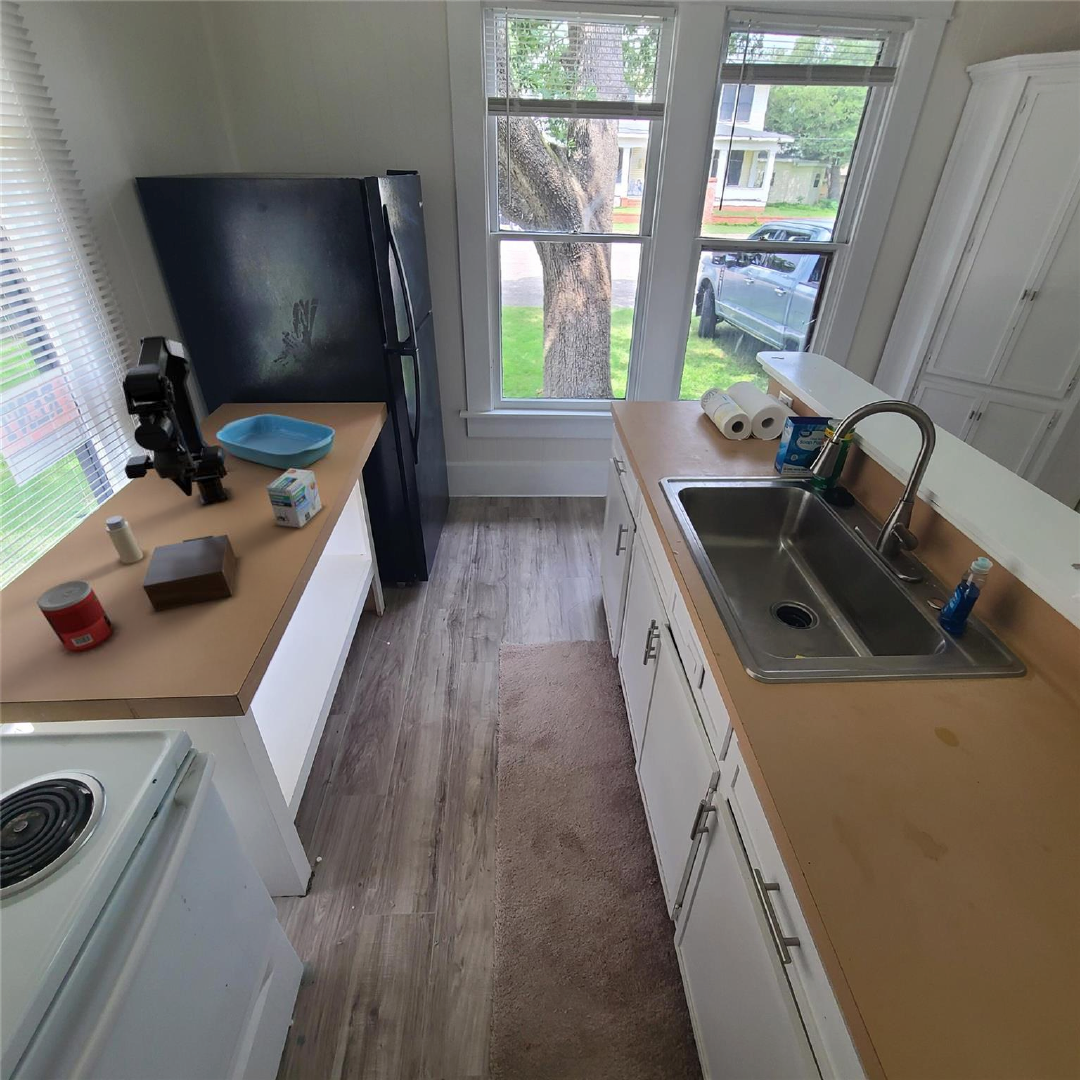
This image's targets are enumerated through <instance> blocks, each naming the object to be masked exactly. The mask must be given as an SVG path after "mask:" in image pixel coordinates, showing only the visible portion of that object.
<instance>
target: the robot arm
mask: <svg viewBox="0 0 1080 1080" xmlns="http://www.w3.org/2000/svg"><path fill="white" fill-rule="evenodd" d="M139 340H140V341H139V343H140V346H141V348H140V353H139V356H138V362H137V365H136V367H133V368H131V369H129V370H128V371H127V372H126V374H125V376H124V380H122V389H123V394H124V398H125V405H126V409H127V414H128V415H129V416H134V415H137V416H138V421H139V422H138V424H137V425H136V428H135V429H134V441H135V442H136V444H137V445H138V446H140V448H142V449H145V450H147V451H151V452H153V459H152V458H151V456H150V455H149V454H143V455H136V456H130V457H129V458H128V460H127V462H126V464H125V466H124V472H125V475H126V477H127V479H129V480H134V479H141V478H145V477H146V475H147V473H148V470H155V472H156V473H157V475H158V477H159V478H160V479H163V480H164V479H168V480H170V481H172V482H173V483H174V484H175V485H176V486H177V487H178V488H179V489H180V490H181V491H182V492H183V493H184V494H185V495H186V497H192V496H193V483H196V486H197V489H198V491H199V500H200V504H201V505H202V506H206V505H210V504H216V503H219V502H224V501H228V500H229V499H230V498H229V494H228V490H227V488H226V487H224V485H223V482H222V479H224V478H225V476H227V475H228V471H227V469H226V466H225V461H226V455H227V454H226V452H225V450H224V449H225V448H224V447H223V446H221V445H212V446H211V445H209V444H208V443H207V442H206V441H205V440H204V437H203V434H202V431H201V427H200V423H199V421H198V418H197V414H196V410H195V407H194V403H193V400H192V396H191V393H190V390H189V387H188V383H187V380H188V378H189V376H190V372H191V367H190V364H191V358H190V355H189V352H188V349H187V348H186V347H185V346H184V345H183V344H182V343H181V342H179V341H175V340H172V339H169V338H168V336H166V335H165V336H163V335H150V336H149V335H148V336H143V337H141V338H140V339H139Z"/></svg>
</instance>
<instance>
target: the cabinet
mask: <svg viewBox="0 0 1080 1080" xmlns="http://www.w3.org/2000/svg"><path fill="white" fill-rule="evenodd" d="M228 535H229V534H223V535H216V536H213V537H211V538H205V539H199V540H194V541H188V542H183V541H182V542H177V543H171V544H165V545H160V546H155V547H154V548H153V552H152V555H151V559H150V562H149V565H148V568H147V571H146V574H145V577H144V579H143V580H144V581H143V584H142V588H143V590H144V592H145V594H146V596H147V598H148V601H149V602H150V604H151V606H152V608H153V610H154V612H155V613H157V612H161V611H166V610H172V609H176V608H181V607H187V606H192V605H196V604H201V603H205V602H210V601H215V600H221V599H226V598H230V597H233V590H234V581H235V572H236V565H237V563H236V561H237V557H236V554H235V552H234V549H233V547H232V544H231V541H230V538H229V536H228Z"/></svg>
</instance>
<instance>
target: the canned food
mask: <svg viewBox="0 0 1080 1080" xmlns="http://www.w3.org/2000/svg"><path fill="white" fill-rule="evenodd" d="M36 604H37V606H38V609H39V610H40V611H41V613H42V615H43V616H44V618H45V619H46V621H47V622H48V624H49V625H50V627H51V628H52V630H53V631H54V633H55V635H56V636H57V638H58V639H59V641H60V642H61V644H62V645H63V647H64V648H65V649H66V650H68V651H70V652H75V653H76V652H85V651H89V650H92V649H94V648H96V647H98V646H100V645H102V644H103V643H105V642H106V641H107V640H108V639H110V637H111V636H112V634H113V633H114V627H113V626H114V625H113V624H112V622H111V620H110V618H109V615H107V613H106V611H105V609H104V607H103V605H102V604H101V602H100V600H99V597H98V596H97V594H96V593H95V591H94V589H93V587H92V586H91V584H90V583H89V582H87V581H84V580H72V581H67V582H64V583H60V584H58V585H55V586H52V587H51V588H49V589H47V590H46V591H44V592H43V593H42V594H41V595H40V596H39V597H38V599H37V601H36Z"/></svg>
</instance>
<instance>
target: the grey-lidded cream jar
mask: <svg viewBox="0 0 1080 1080" xmlns="http://www.w3.org/2000/svg"><path fill="white" fill-rule="evenodd" d="M105 524H106V527H105V530H106V532H107V534H108V537H109V538H110V541H111V542H112V545H113V547H114V548H115V550H116V552H117V554H118V556H119V559H120V560H121V562H122V563H124V564H133V563H136V562H139V561H140V560H142V559H143V557H144V553H143V551H142V549H141V546H140V545H139V543H138V541H137V538H136V537H135V534H134V532H133V530H132V527H131V526H130V524H129V522H128V521H126V520H124V518H123V516H121V515H115V516H111V517H108V518H107V519H106V520H105Z"/></svg>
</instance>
